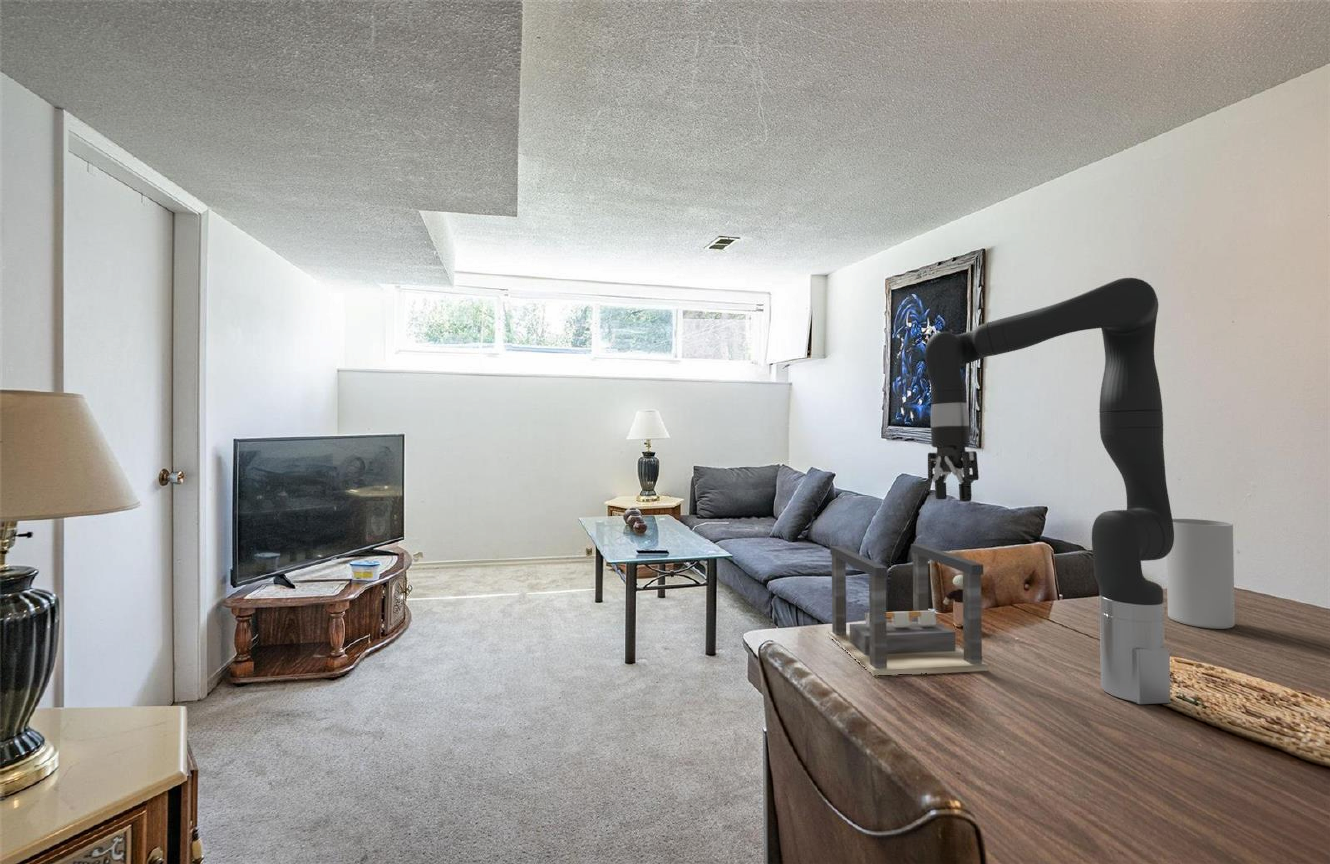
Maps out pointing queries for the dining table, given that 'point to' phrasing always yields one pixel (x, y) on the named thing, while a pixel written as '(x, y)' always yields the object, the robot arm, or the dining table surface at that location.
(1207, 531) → the cylinder vase
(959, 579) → the grandmother figurine
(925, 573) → the stand
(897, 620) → the breaker paddles
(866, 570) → the bar
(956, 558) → the bar
